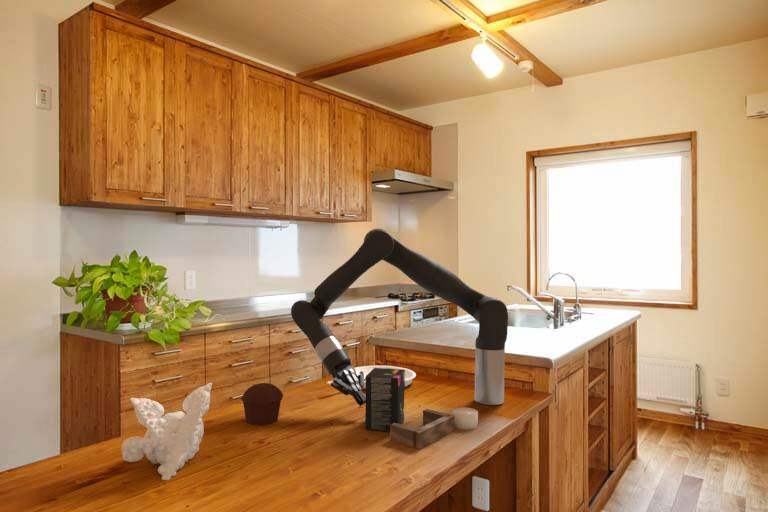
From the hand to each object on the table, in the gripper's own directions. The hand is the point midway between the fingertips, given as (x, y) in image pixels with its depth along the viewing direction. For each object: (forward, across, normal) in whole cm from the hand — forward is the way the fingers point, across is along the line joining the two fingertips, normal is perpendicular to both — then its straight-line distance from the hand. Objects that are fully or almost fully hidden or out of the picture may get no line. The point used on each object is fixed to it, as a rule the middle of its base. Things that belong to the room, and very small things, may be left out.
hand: (363, 403), depth 148 cm
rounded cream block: (+21, +14, -14) cm, 29 cm away
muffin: (-12, -19, +18) cm, 29 cm away
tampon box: (+9, 0, -2) cm, 9 cm away
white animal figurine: (-7, -51, +13) cm, 53 cm away
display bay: (+17, 0, -11) cm, 20 cm away
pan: (-12, +29, +19) cm, 37 cm away
